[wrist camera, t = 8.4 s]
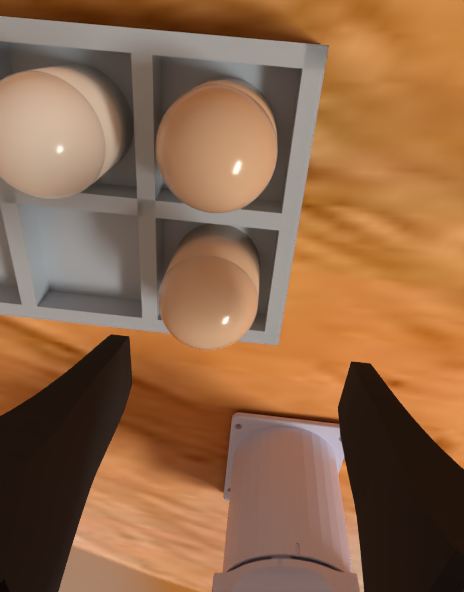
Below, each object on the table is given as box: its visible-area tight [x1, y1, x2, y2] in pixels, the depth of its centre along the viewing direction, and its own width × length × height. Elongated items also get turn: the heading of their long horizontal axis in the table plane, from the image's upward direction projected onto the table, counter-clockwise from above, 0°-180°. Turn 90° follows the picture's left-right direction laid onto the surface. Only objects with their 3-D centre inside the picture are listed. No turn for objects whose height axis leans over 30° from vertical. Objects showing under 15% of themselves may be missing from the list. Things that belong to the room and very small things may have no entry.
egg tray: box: [0, 16, 329, 346], centre depth 20 cm, size 14×20×3 cm
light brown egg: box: [0, 64, 133, 199], centre depth 16 cm, size 4×4×6 cm
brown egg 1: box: [156, 77, 278, 213], centre depth 16 cm, size 4×4×6 cm
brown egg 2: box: [158, 224, 260, 350], centre depth 19 cm, size 4×4×6 cm
